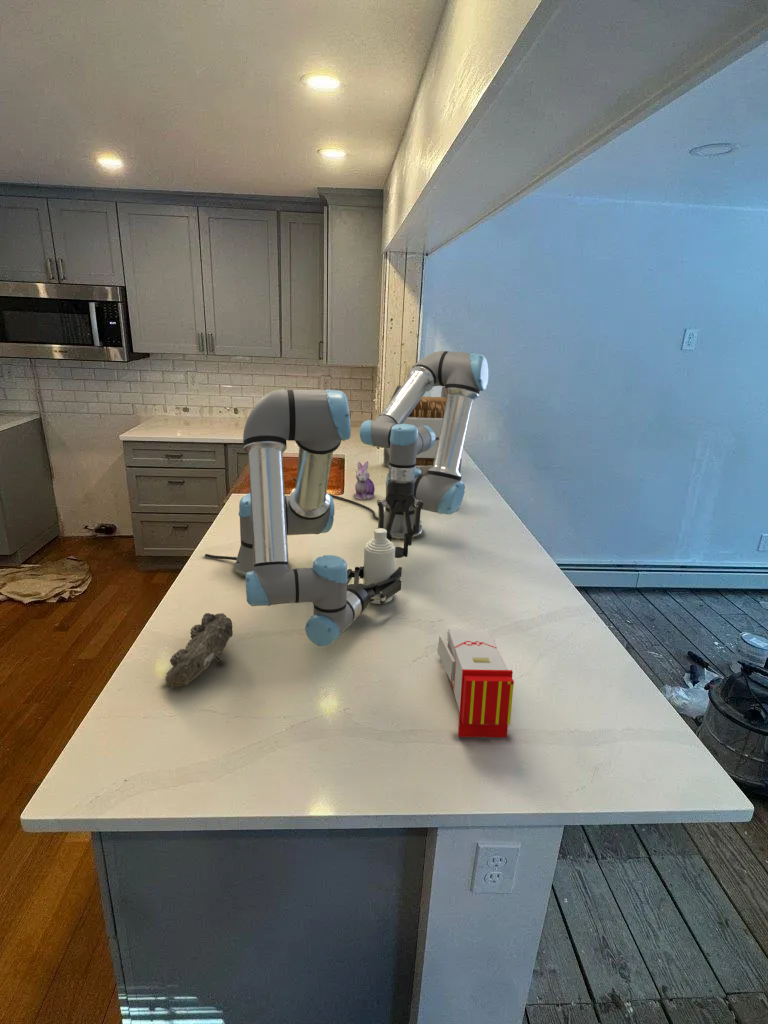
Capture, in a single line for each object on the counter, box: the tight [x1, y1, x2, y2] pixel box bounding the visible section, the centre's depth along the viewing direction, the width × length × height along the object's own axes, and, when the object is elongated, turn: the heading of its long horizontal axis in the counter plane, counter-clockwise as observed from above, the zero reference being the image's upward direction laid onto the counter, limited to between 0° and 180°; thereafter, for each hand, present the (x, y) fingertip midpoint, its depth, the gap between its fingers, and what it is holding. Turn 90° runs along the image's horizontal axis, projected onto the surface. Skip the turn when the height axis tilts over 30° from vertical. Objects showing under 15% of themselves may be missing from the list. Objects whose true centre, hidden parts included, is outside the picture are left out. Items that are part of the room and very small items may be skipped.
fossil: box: [165, 612, 234, 688], centre depth 123 cm, size 22×10×15 cm
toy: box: [437, 628, 515, 738], centre depth 117 cm, size 12×13×30 cm
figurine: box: [354, 460, 376, 501], centre depth 234 cm, size 9×10×15 cm
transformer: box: [383, 384, 463, 475], centre depth 268 cm, size 34×33×41 cm
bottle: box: [362, 527, 396, 605], centre depth 153 cm, size 8×8×20 cm
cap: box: [395, 546, 405, 559], centre depth 168 cm, size 4×4×2 cm
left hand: (385, 568), depth 158 cm, fingers closed on bottle, 8 cm apart
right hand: (396, 555), depth 168 cm, fingers closed on cap, 4 cm apart
